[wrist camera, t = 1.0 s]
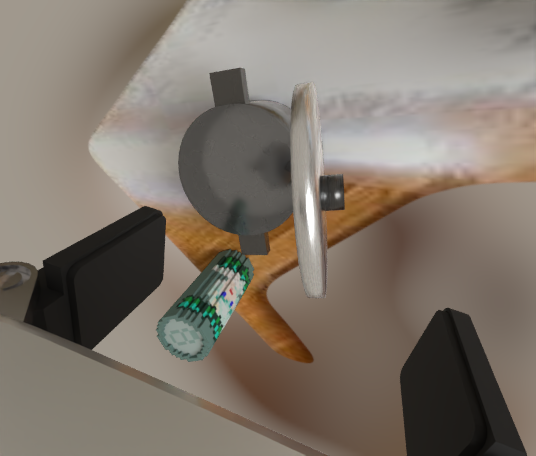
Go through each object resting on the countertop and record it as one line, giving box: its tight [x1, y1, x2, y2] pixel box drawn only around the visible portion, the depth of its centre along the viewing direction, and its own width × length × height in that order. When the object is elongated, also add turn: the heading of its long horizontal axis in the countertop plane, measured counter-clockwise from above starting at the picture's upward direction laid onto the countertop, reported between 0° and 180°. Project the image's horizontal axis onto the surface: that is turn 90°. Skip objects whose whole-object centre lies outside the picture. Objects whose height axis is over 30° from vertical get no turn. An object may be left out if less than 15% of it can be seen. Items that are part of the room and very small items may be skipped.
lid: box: [290, 82, 344, 298], centre depth 22 cm, size 15×14×2 cm
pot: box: [178, 68, 293, 255], centre depth 35 cm, size 13×19×9 cm
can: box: [156, 249, 254, 362], centre depth 40 cm, size 6×6×15 cm
